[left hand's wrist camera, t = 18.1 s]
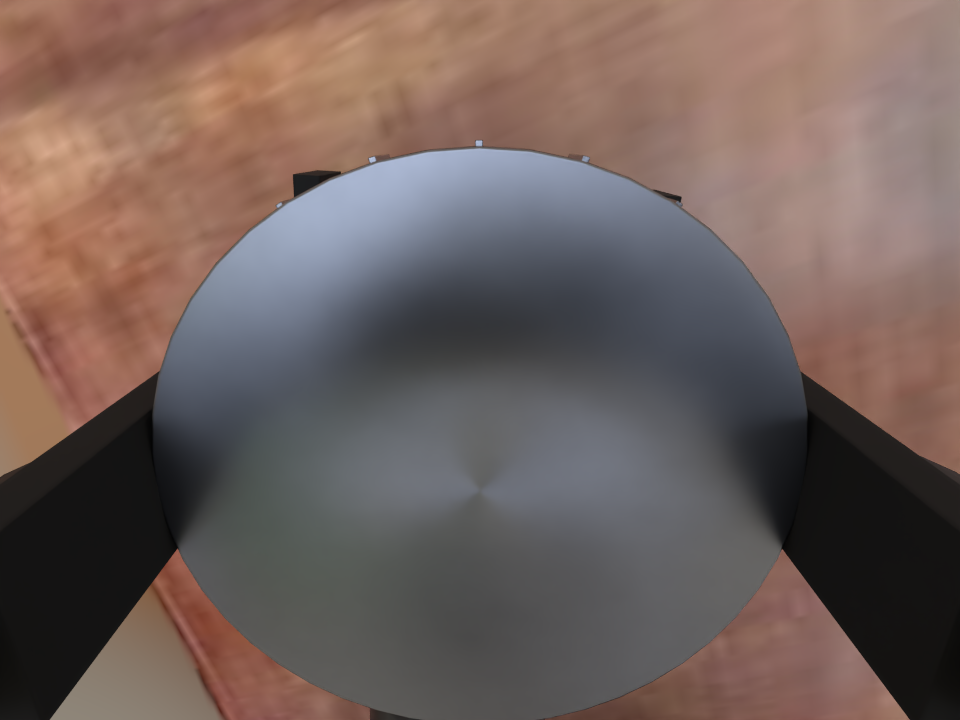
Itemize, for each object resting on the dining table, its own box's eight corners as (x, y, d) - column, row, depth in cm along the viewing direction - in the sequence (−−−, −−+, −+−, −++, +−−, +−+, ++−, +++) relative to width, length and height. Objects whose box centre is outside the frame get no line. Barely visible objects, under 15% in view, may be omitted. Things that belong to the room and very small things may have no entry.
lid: (804, 139, 10) (882, 139, 8) (715, 646, 14) (753, 727, 12) (153, 141, 10) (76, 141, 8) (245, 647, 14) (207, 729, 12)
